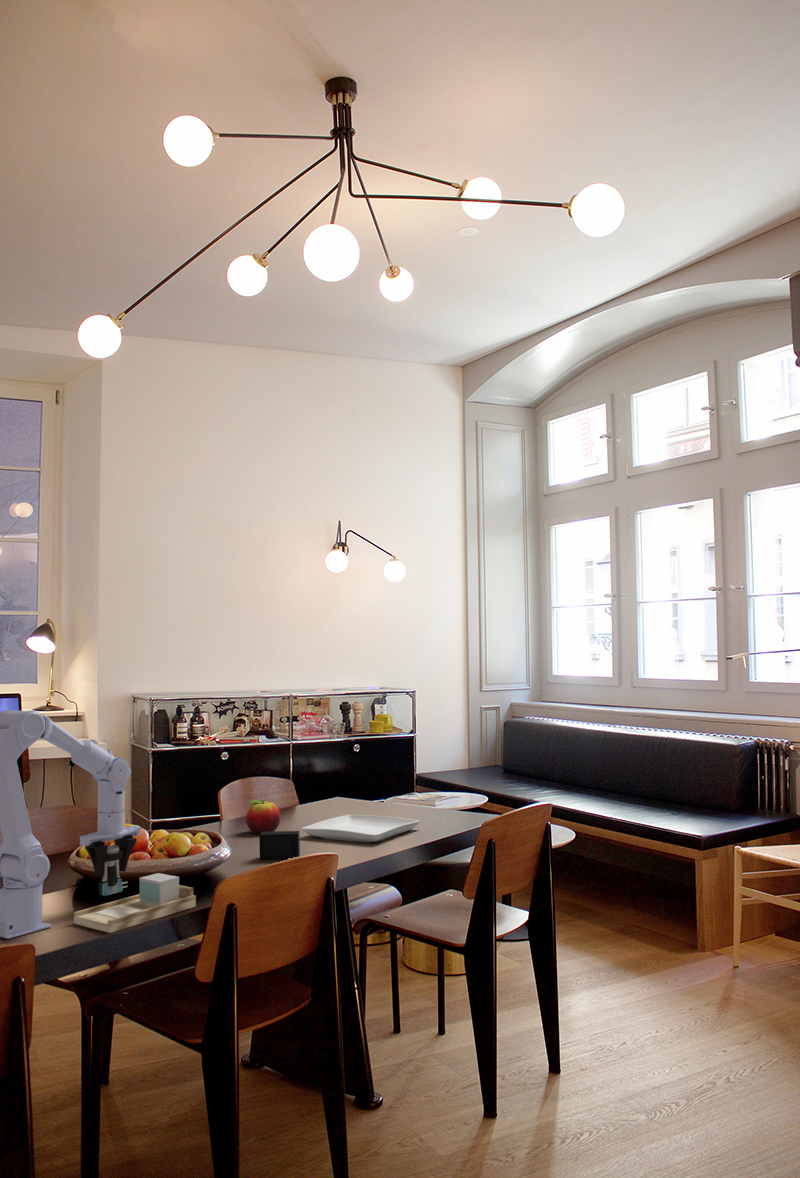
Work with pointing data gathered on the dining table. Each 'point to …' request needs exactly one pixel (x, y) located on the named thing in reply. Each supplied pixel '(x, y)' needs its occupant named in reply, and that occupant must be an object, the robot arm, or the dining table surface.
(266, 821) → the fruit
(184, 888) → the beige tray
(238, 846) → the dining table surface
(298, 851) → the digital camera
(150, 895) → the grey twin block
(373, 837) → the square plate
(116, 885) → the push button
